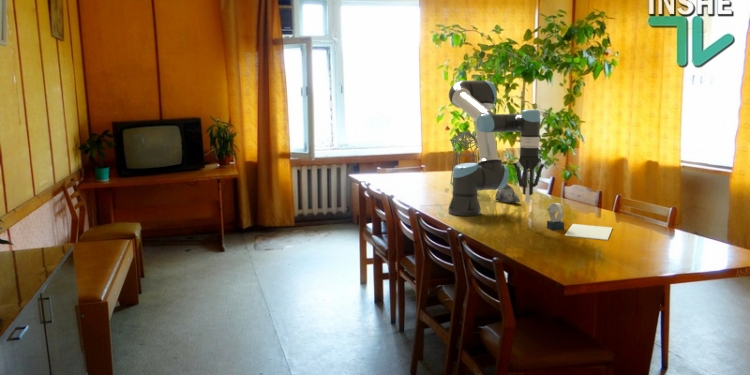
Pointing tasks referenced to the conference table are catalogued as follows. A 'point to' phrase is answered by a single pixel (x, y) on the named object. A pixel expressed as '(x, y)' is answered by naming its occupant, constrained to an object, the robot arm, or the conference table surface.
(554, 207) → the watch
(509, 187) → the mineral rock
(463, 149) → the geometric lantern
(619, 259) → the conference table surface
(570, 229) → the felt mat
